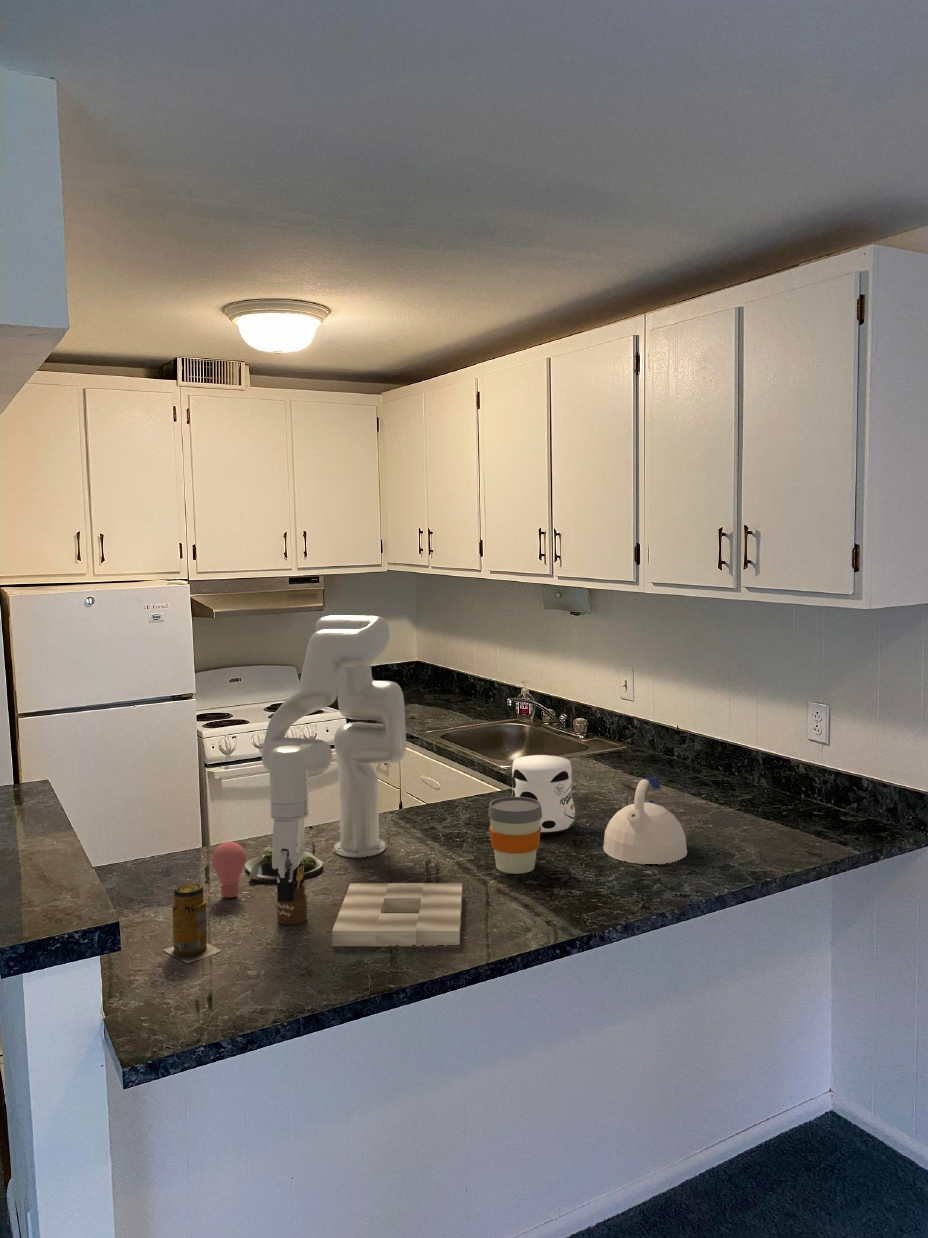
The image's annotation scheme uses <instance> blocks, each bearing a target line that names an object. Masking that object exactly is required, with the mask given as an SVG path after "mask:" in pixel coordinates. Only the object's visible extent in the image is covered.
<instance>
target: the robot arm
mask: <svg viewBox="0 0 928 1238" xmlns="http://www.w3.org/2000/svg"><path fill="white" fill-rule="evenodd" d="M314 629H315V632H314V633H313V634H312V635H311V637H309V641H308V644H307V649H306V653H305V657H304V661H303V664H302V665H303V666H302V670H301V674H300V677H299V678H300V679H299V683H298V686H297V687H298V688H297V690H296V691H295V692H294V693H293V694H292V695H290V696H289V697H288V698H287V699H286V700H285V701H284V702H283V703H282V704H281V705H280V706H279V707H278V708H277V710H276V711H275V712H274V713H273V714H272V715H271V718H270V720H269V722H268V723H267V724H268V725H267V727H266V732H265V734H264V735H265V736H264V740H263V744H262V750H261V762H262V763H261V764H262V765H263V767H264V769H265V770H266V771H267V772H269V799H270V801H269V806H270V809H269V810H270V819H272V820H273V825H272V826H273V828H272V848H271V849H272V868H273V869H275V870H276V869H277V868H278V878H277V883H276V884H277V885H276V887H277V889H276V891H277V898H278V901H279V902H293V901H294V882H298V881H297V880H296V876H297V871H298V867H301V866H302V868H303V865H304V864H303V857H304V853H305V851H306V833H305V831H306V830H305V829H306V828H305V818H307V817H308V816H309V813H310V811H309V805H310V804H309V778H312V777H317V776H320V775H322V774H324V773H325V772H326V771H328V770H329V768H330V766H331V765H332V762H333V751H332V747H331V746H330V744H329V743H328V742H326V741H325V740H323V739H318V738H301V737H286V735H287V732H288V731H289V729H290V728H291V727H292V725H294V724H295V723H296V722H298V721H299V720H300V719H302V718H303V717H306V716H308V715H309V714H313V713H315V712H317V711H319V710H323V709H325V708H327V707H329V706H331V705H332V704H333V703H335V701H336V700H337V705H338V711H339V713H340V714H341V716H342V717H343V718H346V719H349V720H350V719H351V720H362V721H364V720H365V721H380V722H381V723H371V722H349V723H345V724H342V725H340V727H338V728H337V730H336V731H335V734H334V737H333V743H334V744H333V745H334V751H335V754H336V755H335V756H336V761H337V769H338V790H339V791H338V794H339V795H338V797H339V801H338V802H339V827H340V828H339V833H340V834H339V837H340V840H339V841H337V842H336V843H334V846H333V850H334V851H333V852H335V854H337V855H339V856H341V857H345V858H346V857H347V858H367V856H368V857H373V856H376V855H378V854H381V853H382V852H384V851H385V849H386V842H385V841H384V840H382V839H380V827H379V826H380V825H379V824H380V823H379V780H378V775H377V772H376V771H375V769H374V768H373V766H372V765H371V764H398V763H399V762H401V761H403V760H404V758H405V754H406V750H407V736H406V735H407V733H406V717H405V716H406V715H405V711H406V710H405V699H404V698H405V696H404V693H403V691H402V688H401V686H400V685H399V683H397V682H394V681H391V680H374V679H373V674H372V664H373V663H374V662H375V661H376V660H377V659H378V658H379V657H380V655H381V654H382V653H383V652H384V651H385V649H386V648H387V647H388V644H389V641H390V626H389V624H388V621H387V620H386V619H385V618H384V617H382V616H377V615H352V614H351V615H350V614H347V615H346V614H345V615H344V614H342V615H341V614H337V615H336V614H335V615H326V616H322V617H320V618H319V619H317V621H316V623H315V628H314ZM286 865H289V866H286ZM286 871H288V872H286ZM299 872H300V868H299ZM301 873H302V870H301ZM304 882H305V879H304V872H303V878H302V879H301V880H300V883H302V884H303V885H304Z"/></svg>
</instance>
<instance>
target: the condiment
mask: <svg viewBox="0 0 928 1238" xmlns="http://www.w3.org/2000/svg"><path fill="white" fill-rule="evenodd" d="M204 897H205V895H204V887H203V886H202V885H201V884H199V883H185V884H184V883H183V884H182V885H179V886H177V887H175V889H174V890H173V900H174V902H173V903H172V905H171V906H172V907H171V908H172V936H173V937H172V941H173V946H169V947H166V948H164V949H163V951H164V952H166V953H167V954H169V955H170V956H172V957H173V958H174V957H175V958H176V959H178V960H179V961H181V962H184V963H185V964H189V963H193V962H195V961H198V960H199V961H200V960H203V959H205V958H208V957H210V956H212V955H215V954H217V953H221V952H222V950H221V949H219V948H218V947H215V946H214V945H212V944H210V943H208V942H207V941H208V938H207V936H208V935H207V934H208V930H207V928H208V927H207V926H208V923H207V921H208V920H207V903H206V900H205V898H204Z"/></svg>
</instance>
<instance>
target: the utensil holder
mask: <svg viewBox="0 0 928 1238" xmlns="http://www.w3.org/2000/svg"><path fill="white" fill-rule="evenodd" d="M286 866H287V865H286ZM288 866H289V865H288ZM299 868H300V872H299ZM301 870H302V873H301ZM286 872H287V871H286ZM303 872H304V865H303V868H302V866H301V867H298V871H297V876H296V880H297V881H298V882H294V901H293V902H279V901H278V897H277V898H276V916H277V917H276V918H277V920H278V921H277V922H278V923H279V924H281V925H285V926H293V925H294V926H295V925H299V924H301V923H304V922H305V921H306V920H307V918H308V907H307V906H308V901H307V895H306V893H305V890H306V888H305V884H304V883H303V884H302V883H300V880H301V879H302V878H303Z"/></svg>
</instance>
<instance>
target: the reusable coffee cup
mask: <svg viewBox="0 0 928 1238" xmlns="http://www.w3.org/2000/svg"><path fill="white" fill-rule="evenodd" d="M487 817H488V818H489V822H490V825H489V827H488V828H489V834H490V835H489V836H490V837H489V838H490V843H491V847H492V848H493V853H494V861H495V867H496V869H497V870H498V871H500V872H501V873H506V874H511V875H512V874H517V875H518V874H526V873H529V872H533V870H535V866H536V859H537V852H538V851H537V850H538V849H539V847H540V841H541V835H542V834H541V827H540V819H541V818H542V810H541V803H540V802H539V801H537V800H535V799H532V798H526V797H512V796H504V797H499V798H495V799H493V800H491V801H490V802H489V805H488V814H487Z"/></svg>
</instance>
